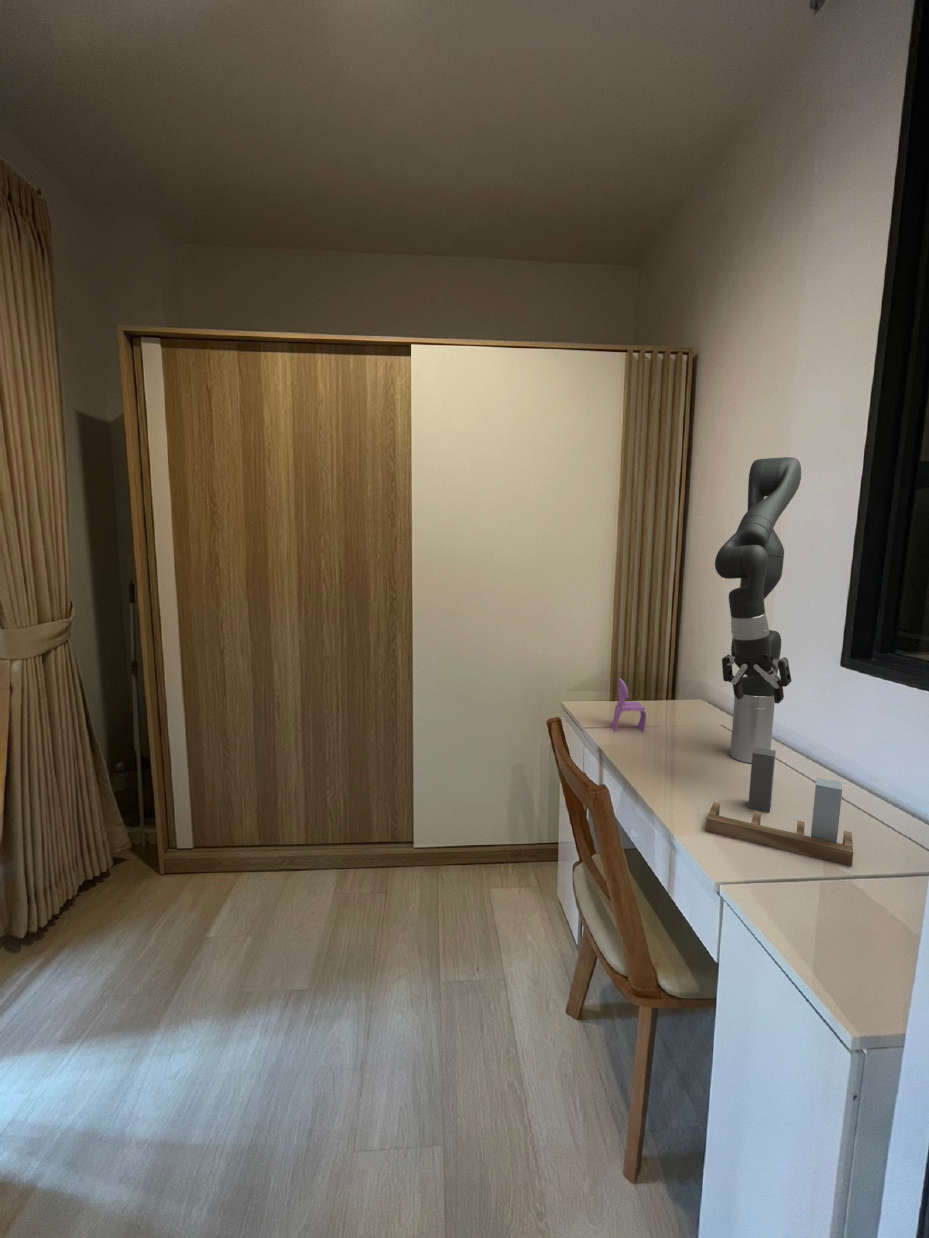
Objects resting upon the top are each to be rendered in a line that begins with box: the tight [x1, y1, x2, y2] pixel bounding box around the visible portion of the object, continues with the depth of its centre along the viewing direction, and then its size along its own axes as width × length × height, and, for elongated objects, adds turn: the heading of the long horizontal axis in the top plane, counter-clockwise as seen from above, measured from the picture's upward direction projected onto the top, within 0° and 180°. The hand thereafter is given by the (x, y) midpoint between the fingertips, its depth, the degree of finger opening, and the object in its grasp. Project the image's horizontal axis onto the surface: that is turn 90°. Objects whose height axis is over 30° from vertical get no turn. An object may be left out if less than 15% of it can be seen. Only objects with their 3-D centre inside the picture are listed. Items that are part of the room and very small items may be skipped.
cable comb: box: [705, 801, 854, 867], centre depth 113 cm, size 8×24×2 cm, turn 59°
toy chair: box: [610, 678, 647, 733], centre depth 175 cm, size 8×9×15 cm
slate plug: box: [810, 777, 843, 843], centre depth 110 cm, size 4×4×12 cm
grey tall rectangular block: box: [747, 747, 777, 813], centre depth 126 cm, size 4×4×12 cm
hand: (758, 700), depth 139 cm, fingers open, 8 cm apart
